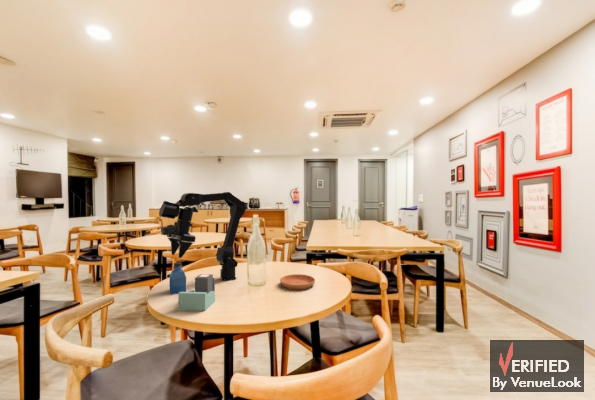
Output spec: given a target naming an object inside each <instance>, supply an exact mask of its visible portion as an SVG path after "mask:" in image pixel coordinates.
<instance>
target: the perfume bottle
mask: <svg viewBox="0 0 595 400" xmlns="http://www.w3.org/2000/svg"><path fill="white" fill-rule="evenodd" d="M182 268H183V265H182V261H181V262H180V261H178V262H174V263H173V267H172V269H173V270H171V272H170V274H169V295H175V294H176V295H177V294H178V293H179V292H187V276H186V274H185V272H184V270H183V269H182Z"/></svg>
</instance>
